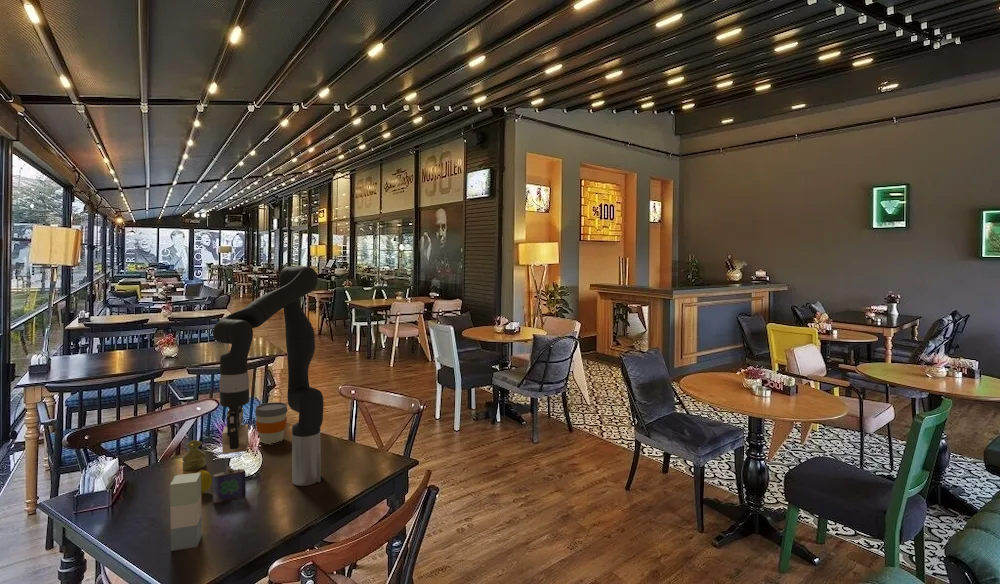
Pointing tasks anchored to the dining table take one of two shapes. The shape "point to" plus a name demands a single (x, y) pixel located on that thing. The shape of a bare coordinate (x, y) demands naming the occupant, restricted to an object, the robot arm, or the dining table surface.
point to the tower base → (186, 536)
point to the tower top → (185, 489)
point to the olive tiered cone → (194, 457)
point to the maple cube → (242, 440)
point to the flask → (229, 485)
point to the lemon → (205, 481)
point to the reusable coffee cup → (271, 421)
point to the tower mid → (185, 515)
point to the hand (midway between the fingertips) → (235, 444)
